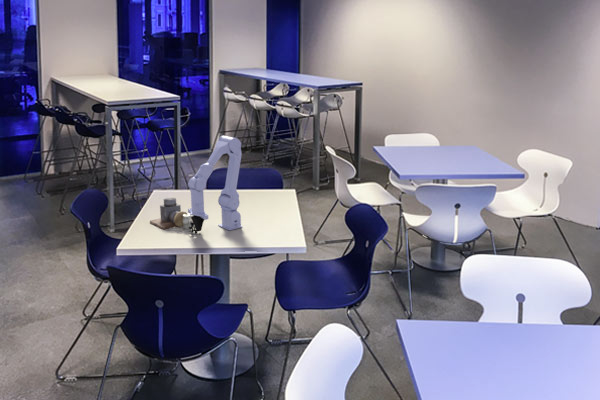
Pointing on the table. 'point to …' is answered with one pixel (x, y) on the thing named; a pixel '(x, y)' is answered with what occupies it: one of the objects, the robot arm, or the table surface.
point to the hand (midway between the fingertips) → (198, 230)
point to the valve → (188, 223)
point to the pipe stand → (170, 215)
